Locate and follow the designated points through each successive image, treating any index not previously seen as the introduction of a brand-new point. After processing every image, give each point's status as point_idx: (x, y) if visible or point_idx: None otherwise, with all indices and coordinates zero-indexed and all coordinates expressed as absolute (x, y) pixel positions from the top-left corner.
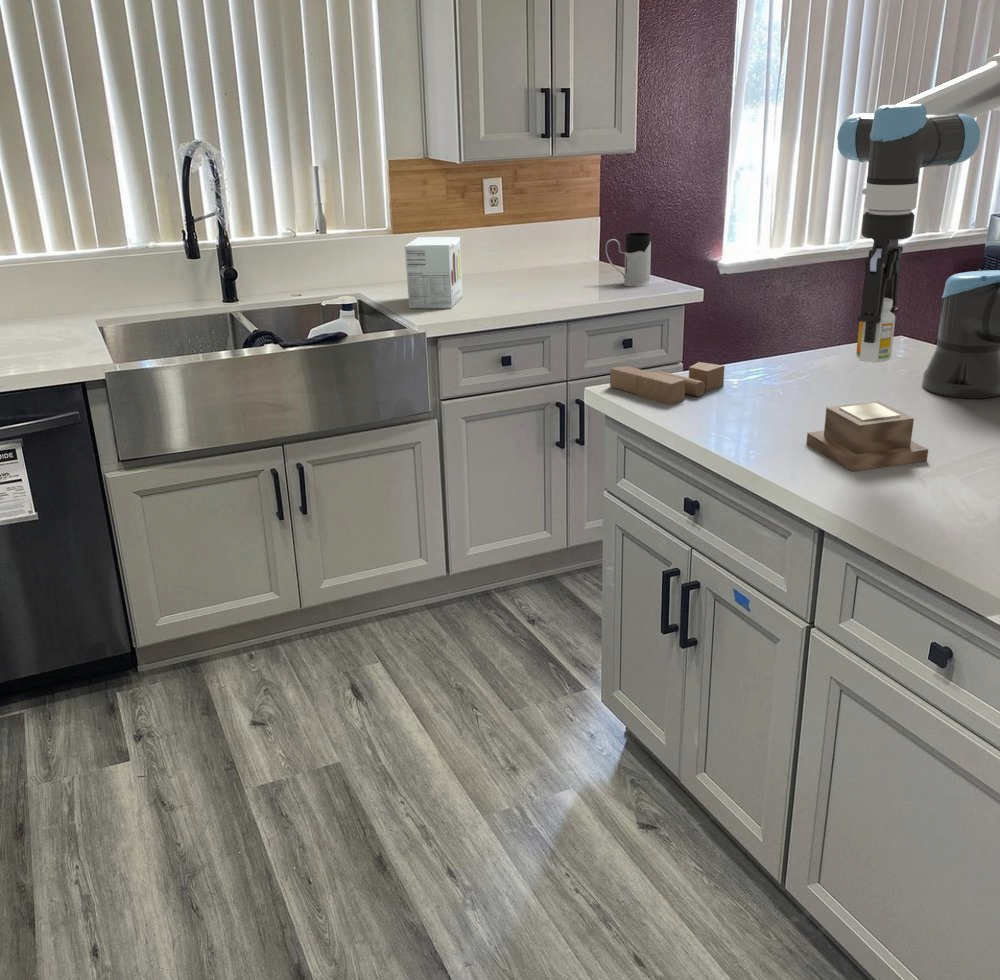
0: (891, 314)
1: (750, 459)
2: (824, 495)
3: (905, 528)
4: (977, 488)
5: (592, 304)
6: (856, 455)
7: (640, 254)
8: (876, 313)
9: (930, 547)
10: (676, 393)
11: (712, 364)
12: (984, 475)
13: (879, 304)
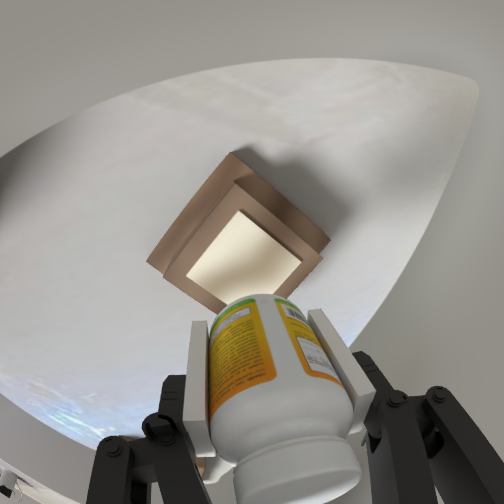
0: (298, 413)
1: None
2: (402, 236)
3: (438, 141)
4: (303, 73)
5: (55, 492)
6: (311, 240)
7: (6, 485)
8: (458, 404)
9: (456, 118)
10: (196, 457)
11: None
12: (248, 71)
13: (454, 435)
